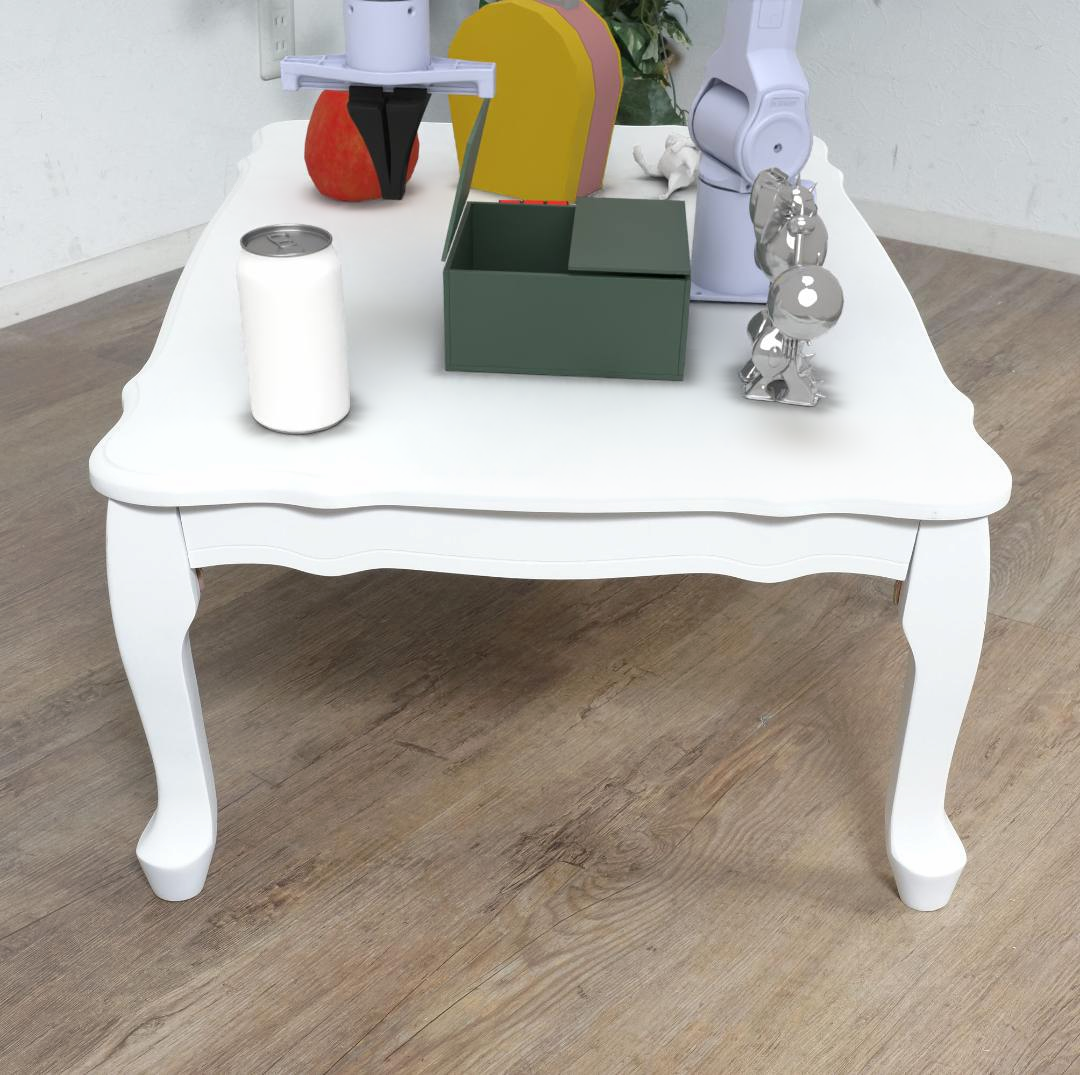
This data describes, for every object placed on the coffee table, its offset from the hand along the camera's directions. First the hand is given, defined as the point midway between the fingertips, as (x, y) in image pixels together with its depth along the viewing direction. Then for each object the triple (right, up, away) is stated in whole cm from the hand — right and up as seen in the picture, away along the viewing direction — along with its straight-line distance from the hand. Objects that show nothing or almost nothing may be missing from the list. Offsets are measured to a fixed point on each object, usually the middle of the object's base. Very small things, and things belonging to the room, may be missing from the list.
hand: (393, 195), depth 94 cm
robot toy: (+27, -15, -3) cm, 31 cm away
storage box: (+13, -9, +5) cm, 16 cm away
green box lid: (+6, +1, -1) cm, 6 cm away
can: (-5, -16, -7) cm, 19 cm away
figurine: (+23, +11, +37) cm, 45 cm away
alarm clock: (+10, +10, +35) cm, 37 cm away
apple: (-6, +8, +32) cm, 34 cm away
